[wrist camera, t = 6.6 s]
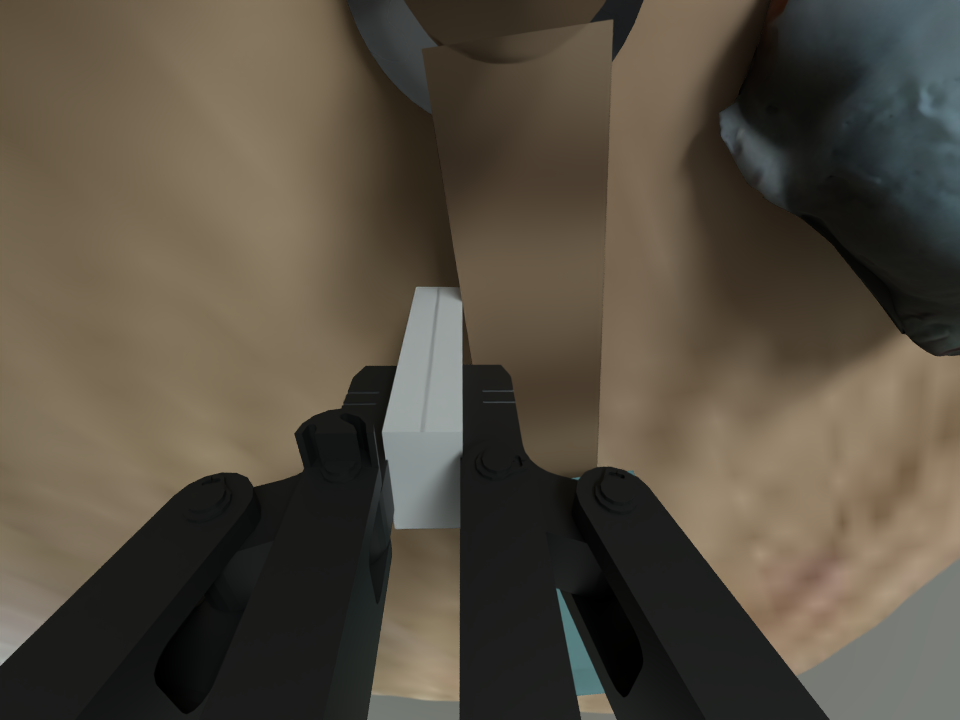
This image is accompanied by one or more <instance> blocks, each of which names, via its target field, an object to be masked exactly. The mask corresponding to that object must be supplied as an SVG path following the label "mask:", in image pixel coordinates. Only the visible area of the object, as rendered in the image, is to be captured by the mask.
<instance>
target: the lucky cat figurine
mask: <svg viewBox="0 0 960 720" xmlns="http://www.w3.org/2000/svg"><path fill="white" fill-rule="evenodd" d="M719 124H720V135H721V137H722V139H723V140H724V142H725V144H726V145H727V147H728V149H729V151H730V153H731V155H732V156H733V158H734V160H735V162H736V164H737V166H738V168H739V170H740V172H741V174H742V175H743V177H744V178H745V179H746V181H747V183H748V184H749V185H750V186H751V187H753V188H755V189H757V190H758V191H760V192H761V193H762V194H763V195H764V197H763V198H765V199H767V200H769V201H770V202H771V203H773V204H775V205H777V206H779V207H781V208H783V209H785V210H787V211H789V212H791V213H793V214H795V215H797V216H798V217H800V218H802V219H803V220H804V221H806V222H807V223H808V224H809V225H810V226H812V227H813V228H814V229H815V230H816V231H818V232H819V233H820V234H821V235H822V236H824V237H825V238H826V239H827V240H828V241H830V242H831V243H832V245H833V246H834V247H835V248H836V249H837V251H838V252H839V253H840V254H841V256H842V257H843V258H844V259H845V261H846V262H847V263H848V264H849V266H850V267H851V268H852V269H853V271H854V272H855V273H856V274H857V276H858V277H859V278H860V279H861V281H862V282H863V283H864V284H865V286H866V287H867V288H868V289H869V291H870V292H871V293H872V294H873V296H874V297H875V298H876V299H877V301H878V302H879V303H880V305H881V306H882V307H883V309H884V310H885V312H886V313H887V314H888V316H889V317H890V318H891V320H892V321H893V323H894V324H895V325H896V327H897V328H898V329H899V330H900V332H901V333H902V334H906V335H907V336H908V337H909V338H910V339H911V340H912V341H913V342H914V343H915V344H917V345H918V346H919V347H921V348H922V349H923V350H925V351H926V352H928V353H930V354H932V355H934V356H945V355H948V356H956V355H960V0H771V2H770V5H769V9H768V12H767V16H766V19H765V23H764V26H763V29H762V33H761V36H760V40H759V43H758V46H757V48H756V51H755V54H754V57H753V59H752V62H751V65H750V67H749V70H748V73H747V75H746V78H745V80H744V82H743V84H742V86H741V89H740V92H739V95H738V97H737V98H736V101H735V103H734V104H732V105H730V106H729V107H727V108H726V109H725V110H723V111H721V112H720V113H719Z"/></svg>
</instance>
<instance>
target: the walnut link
mask: <svg viewBox="0 0 960 720" xmlns="http://www.w3.org/2000/svg"><path fill="white" fill-rule="evenodd" d="M404 1H405V3H406V5H407V6H408V8H409V9H410V11H411V12H412V13H413V15H414V16H415V18H416V19H417V21H418V22H419V24H420V25H421V26H422V28H423V29H424V30H425V32H426V33H427V35H428V36H429V37H430V38H431V39H432V40H433V41H434V42H435V43H436V44H437V45H438V46H437V47H430V48H424V49H422V55H423V61H424V67H425V73H426V80H427V86H428V92H429V98H430V104H431V111H432V117H433V123H434V129H435V135H436V142H437V148H438V154H439V160H440V166H441V173H442V179H443V185H444V191H445V197H446V204H447V210H448V216H449V222H450V228H451V235H452V241H453V247H454V253H455V259H456V266H457V272H458V278H459V284H460V291H461V297H462V303H463V309H464V315H465V322H466V328H467V334H468V340H469V346H470V353H471V359H472V365H502V366H503V368H504V369H505V370H506V371H507V372H508V373H509V374H510V376H511V379H512V385H513V392H514V396H515V403H516V408H517V414H518V420H519V425H520V431H521V437H522V443H523V447H524V450H525V452H526V454H527V455H528V456H529V458H530V460H532V461H533V462H534V463H535V464H536V465H537V466H539V467H541V468H542V469H544V470H546V471H548V472H551V473H554V474H557V475H560V476H564V477H568V478H577V477H581V476H582V475H583V474H584V472H586V471H588V470H591V469H593V468H596V467H597V455H598V427H599V400H600V372H601V344H602V317H603V289H604V262H605V234H606V206H607V179H608V151H609V123H610V96H611V68H612V41H613V19H612V20H606V21H599V22H593V23H589V22H590V21H591V20H592V19H593V18H594V16H595V15H596V14H597V13H598V11H599V10H600V9H601V8H602V6H603V5H604V3H605V2H606V0H404Z"/></svg>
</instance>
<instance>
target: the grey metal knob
mask: <svg viewBox="0 0 960 720" xmlns="http://www.w3.org/2000/svg"><path fill="white" fill-rule="evenodd" d="M347 2H348V6H349V8H350V11H351V13H352V16H353V18H354V21H355V23H356V25H357V28H358V30H359V32H360V34H361V36H362V38H363V40H364V41H365V43H366V45H367V47H368V49H369V51H370V53H371V54H372V55H373V57H374V58H375V60H376V61H377V63H378V64H379V66H380V67H381V69H382V70H383V71H384V73H385V74H386V75H387V76H388V77H389V78H390V80H391V81H392V82H393V83H394V84H395V85H396V87H397V88H398V89H399V90H401V91H402V92H403V93H404V94H405V95H406V96H407V97H408V98H409V99H410V100H412V101H413V102H414V103H415V104H417V105H418V106H420V107H421V108H423V109H424V110H425V111H427V112H428V113H430V114H432V111H431V104H430V98H429V92H428V86H427V80H426V73H425V67H424V61H423V55H422V49H424V48H430V47H437V46H438V45H437V44H436V43H435V42H434V41H433V40H432V39H431V38H430V37H429V36H428V35H427V33H426V32H425V30H424V29H423V28H422V26H421V25H420V24H419V22H418V21H417V19H416V18H415V16H414V15H413V13H412V12H411V11H410V9H409V8H408V6H407V5H406V3H405V1H404V0H347ZM642 3H643V0H606V2H605V3H604V5H603V6H602V8H601V9H600V10H599V11H598V13H597V14H596V15H595V16H594V18H593V19H592V20H591V21H590V22H589V23H593V22H599V21H606V20H612V19H613V41H612V61H613V60H614V58H615V57H616V55H617V54H618V52H619V51H620V49H621V48H622V46H623V44H624V42H625V40H626V38H627V36H628V35H629V33H630V31H631V29H632V27H633V25H634V23H635V20H636V18H637V15H638V13H639V10H640V8H641V5H642Z"/></svg>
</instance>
